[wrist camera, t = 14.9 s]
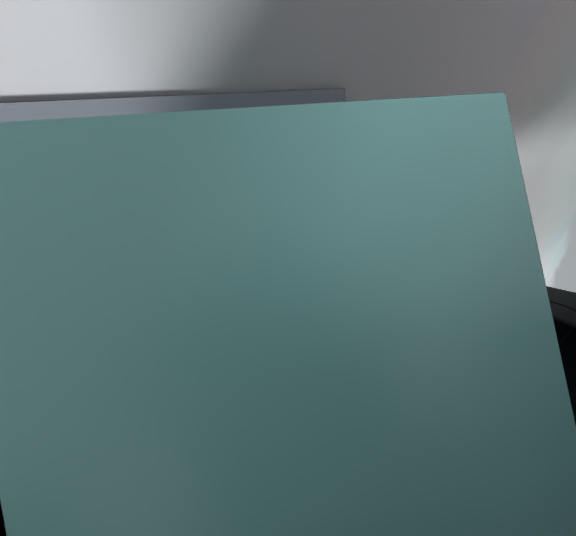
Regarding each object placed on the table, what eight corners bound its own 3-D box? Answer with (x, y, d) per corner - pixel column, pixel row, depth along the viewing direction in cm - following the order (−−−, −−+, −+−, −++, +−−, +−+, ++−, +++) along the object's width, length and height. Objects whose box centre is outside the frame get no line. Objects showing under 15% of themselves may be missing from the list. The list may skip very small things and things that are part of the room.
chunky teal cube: (162, 462, 9) (-108, 1280, 2) (115, 255, 9) (-390, 144, 2) (350, 392, 11) (619, 631, 4) (312, 220, 11) (504, 92, 3)
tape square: (135, 359, 12) (135, 363, 12) (-21, 104, 6) (-26, 104, 6) (326, 299, 15) (328, 302, 15) (342, 88, 9) (345, 88, 9)
